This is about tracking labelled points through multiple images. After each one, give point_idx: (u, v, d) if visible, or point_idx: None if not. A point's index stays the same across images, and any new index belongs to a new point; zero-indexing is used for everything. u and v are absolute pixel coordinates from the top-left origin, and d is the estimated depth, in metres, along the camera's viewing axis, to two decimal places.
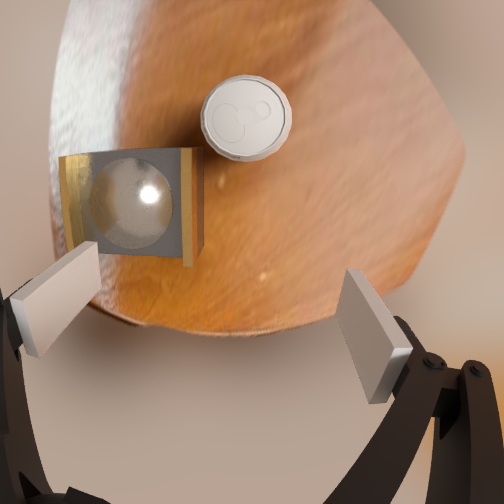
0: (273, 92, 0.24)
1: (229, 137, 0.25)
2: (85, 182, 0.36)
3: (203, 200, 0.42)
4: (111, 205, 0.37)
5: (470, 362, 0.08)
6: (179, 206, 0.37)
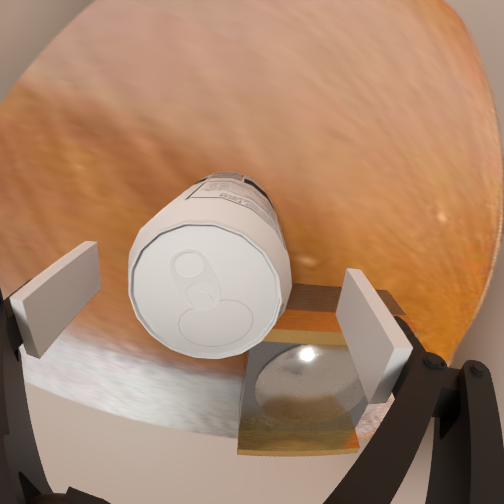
0: (153, 242, 0.13)
1: (243, 324, 0.14)
2: (275, 425, 0.30)
3: (329, 287, 0.30)
4: (310, 405, 0.29)
5: (470, 362, 0.08)
6: None
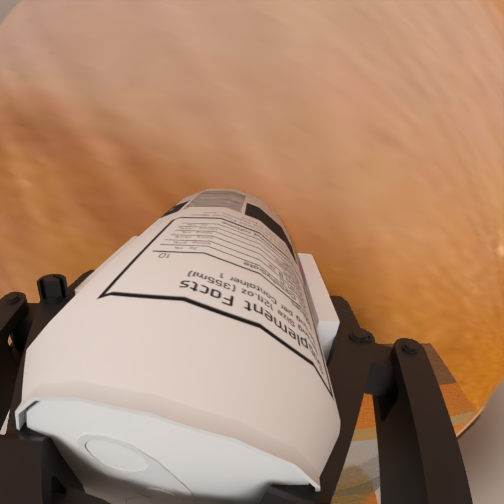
0: (35, 405, 0.04)
1: None
2: None
3: None
4: None
5: (401, 340, 0.10)
6: None
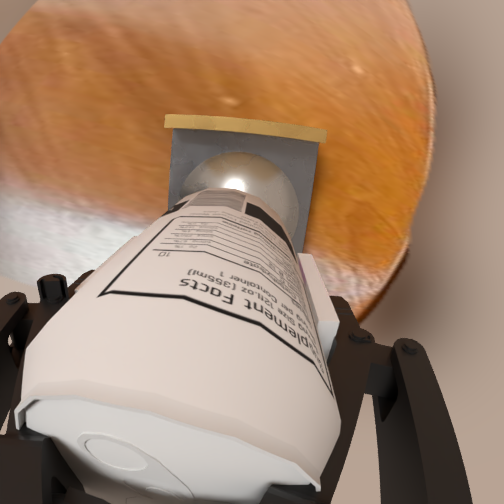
0: (35, 403, 0.04)
1: None
2: None
3: None
4: None
5: (401, 341, 0.10)
6: (247, 143, 0.28)
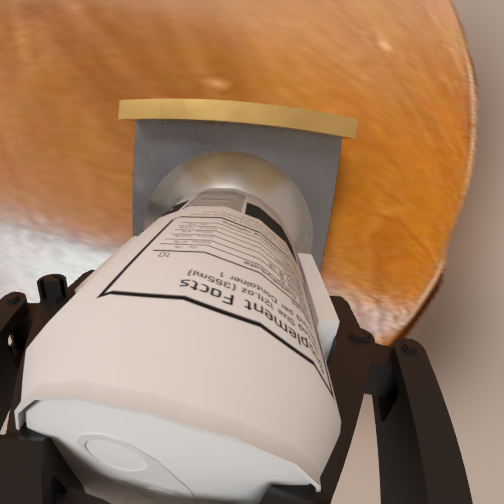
0: (35, 404, 0.04)
1: None
2: None
3: None
4: None
5: (401, 341, 0.10)
6: (239, 138, 0.19)
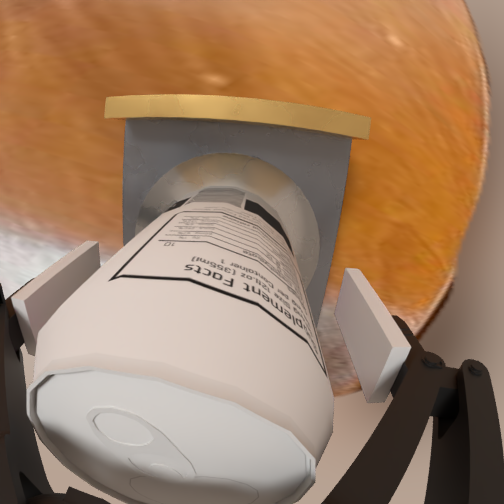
0: (47, 381, 0.05)
1: (240, 498, 0.06)
2: None
3: None
4: None
5: (468, 362, 0.08)
6: (239, 139, 0.17)
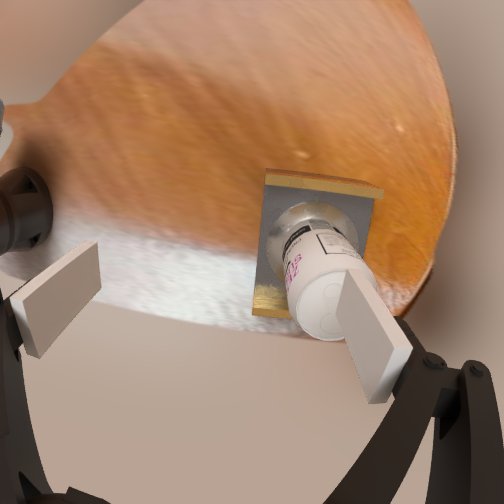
0: (315, 279, 0.24)
1: None
2: (283, 291, 0.42)
3: (320, 174, 0.41)
4: None
5: (470, 362, 0.08)
6: (323, 195, 0.37)
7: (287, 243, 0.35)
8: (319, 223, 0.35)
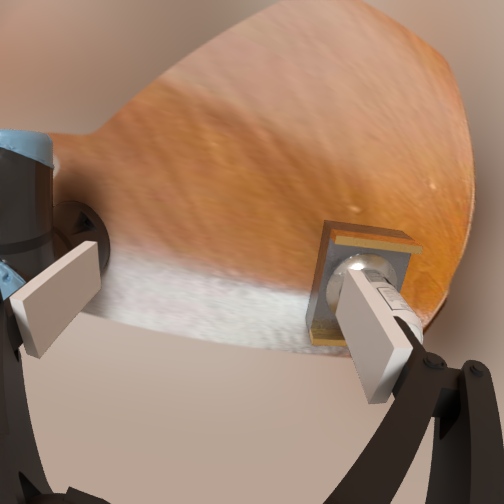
0: None
1: None
2: (335, 323, 0.48)
3: (368, 226, 0.47)
4: None
5: (470, 362, 0.08)
6: (374, 248, 0.44)
7: None
8: (373, 274, 0.41)
